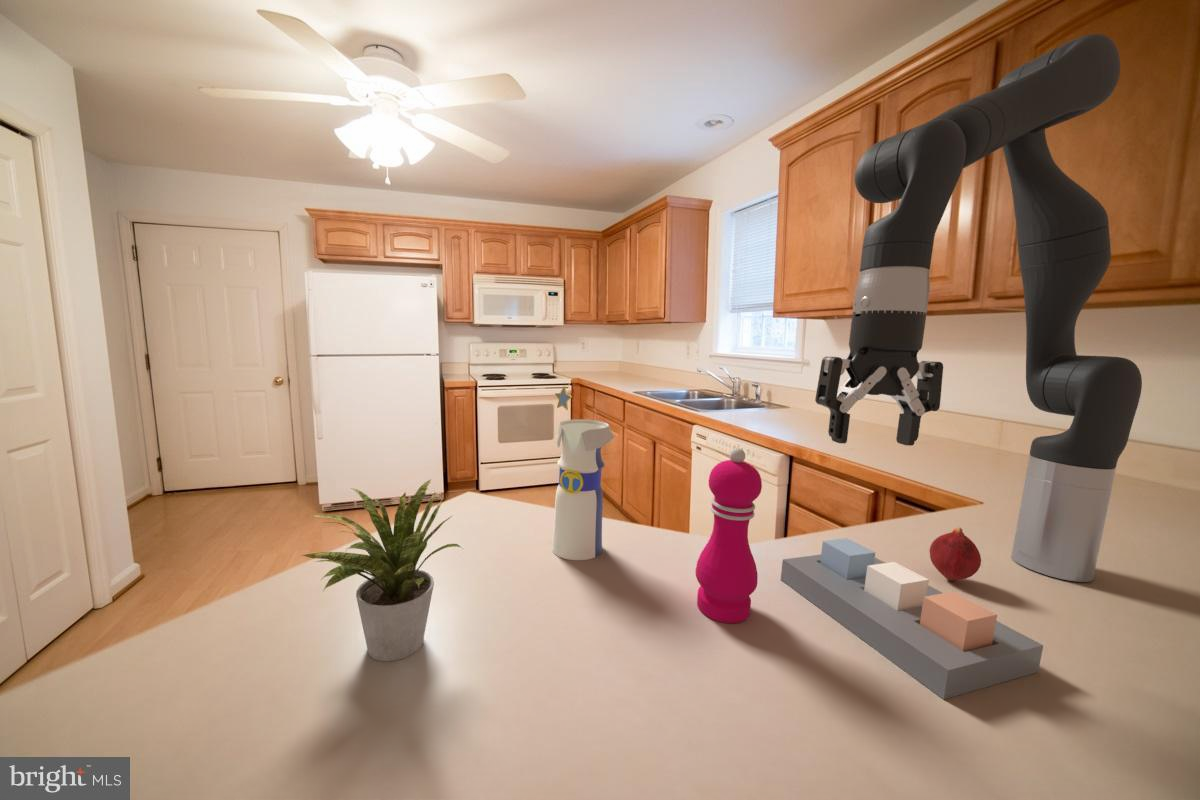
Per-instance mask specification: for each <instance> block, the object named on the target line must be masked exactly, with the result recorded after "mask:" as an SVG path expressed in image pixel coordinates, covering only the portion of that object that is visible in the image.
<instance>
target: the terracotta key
mask: <svg viewBox="0 0 1200 800" xmlns="http://www.w3.org/2000/svg"><path fill="white" fill-rule="evenodd" d="M997 617H998V614H997V613H995V612H993V611H991V610H989V609H987V608H986V607H983V606H981V605H979V604H978V603H975V602H974V601H972V600H970V599H968V598H965V597H963V595H960V594H957V593H956V592H955V591H948V592H942V594H936V595H931V596H925V597H924V599H923V606H922V612H921V619H920V625H921V626H923V627H924V628H926V629H928V630H929V631H931V632H933V633H934V634H936V635H938V636H939V637H941V638H942V639H944V640H946V641H947V642H949V643H951V644H952V645H954V646H955V647H957V648H959V649H960V650H962V651H964V652H967V651H971V650H975V649H979V648H984V647H988V646H992V642H993V636H994V630H995V625H996V621H997Z"/></svg>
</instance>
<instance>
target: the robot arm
mask: <svg viewBox="0 0 1200 800" xmlns="http://www.w3.org/2000/svg"><path fill="white" fill-rule="evenodd" d="M1120 75H1121V58H1120V54H1119V50H1118V48H1117V45H1116V43H1114V41H1113V40H1112V38H1110V37H1109V36H1107V35H1104V34H1101V33H1088V34H1086V35H1082V36H1079V37H1076V38H1074V39H1071V40H1069V41H1067V42H1065V43H1062V44H1061V45H1059V46H1056V47H1055V48H1053V49H1052V50H1050V51H1047V52H1045V53H1043V54H1042V55H1039V56H1038V57H1036V58H1034V59H1031V60H1030V61H1028V62H1026V63H1024V64H1022V65H1020V66H1018V67H1016V68H1014V69H1013V70H1011V71H1010V72H1008V73H1007V74H1005V75H1004V77H1002V79H1001V81H1000V82H999V84H998V86H997V88H994V89H991V90H989V91H986V92H984V93H982V94H979V95H977V96H975V97H972V98H969V99H968V100H966V101H963V102H962V103H959V104H957V105H956V106H954V107H951V108H949V109H948V110H946V111H943V112H942V113H940V114H939V115H937V116H936V117H933V118H932V119H930V120H928V121H926V122H925V123H922V124H920V125H917V126H914V127H913V128H912V127H911V128H910V129H907V130H905V131H902V132H900V133H897V134H895V135H892V136H890V137H887V138H885V139H883V140H880V141H878V142H875V143H874V144H873V145H872V146H870V147H869V148H868V149H867V150H866V151H865V152H864V153H863V154H862V156H861V158H860V159H859V161H858V162H857V165H856V168H855V172H854V185H855V188H856V191H857V193H858V194H859V195H860V196H861V198H863V199H864V200H865V201H868V202H870V203H873V204H887V203H892V202H894V201H899V202H898V204H897V206H896V207H895V208H894V210H892V211H891V212H890V213H888V214H887V215H885V216H884V217H881V218H879V219H877V220H876V221H874V222H872V223H871V224H870V225H869V226H868V227H867V229H866V230H865V233H864V236H863V237H864V238H863V241H862V251H861V257H860V266H859V273H858V278H857V281H856V286H855V290H854V298H853V305H852V312H851V313H852V314H851V323H850V330H849V331H850V332H849V337H848V338H849V340H848V346H849V354H848V356H847V357H846V358H842V357H839V356H832V355H831V356H824V357H822V359H821V364H820V368H819V369H820V370H819V376H818V381H817V387H816V393H815V403H816V404H817V405H820V406H823V407H824V408H827V409H828V410H829V411H830V416H829V423H828V436H829V437H831V438H830V439H831V441H832V442H834V443H836V444H843V445H844V444H847V442H848V434H849V426H850V419H851V414H850V413H848V412H850V410H851V409H852V408H853V406H854V405H855V404H856V403H857V402H858V401H860V400H862V399H864V398H865V397H866V395H871V396H878V395H880V396H881V395H884V396H889V397H891V398H892V400H894V401H896V404H897V405H898V407H899V408H900V410H901V413H899V417H898V425H897V430H896V431H897V432H896V442H897V443H898V444H901V445H903V446H908V447H909V446H912V447H913V446H914V445H915V443H916V442H917V440H918V438H919V434H920V433H919V432H920V426H921V420H922V416H924V414H926V413H929V412H937V411H938V410H939V409H940V407H941V397H942V388H943V387H942V385H943V375H944V374H943V373H944V364H943V363H942V362H941V361H931V360H930V361H929V360H921V361H920V362H919V361H918V356H917V355H918V353H919V351H920V350H922V348H923V342H924V335H925V328H926V322H927V313H928V306H929V298H930V292H931V283H930V272H931V271H930V270H931V264H932V255H933V251H934V249H933V247H934V243H935V236H936V233H937V230H938V227H939V225H940V222H941V221H942V218H943V216H944V214H945V211H946V209H947V206H948V203H949V202H950V199H951V197H952V194H953V192H954V191H955V188H956V187H957V183H958V181H959V179H960V178H961V174H962V172H963V170H964V169H965V168H967V167H969V166H970V165H973V164H974V163H977V162H978V161H980V160H982V159H983V158H985V157H987V156H989V155H990V154H992V153H994V152H996V151H997V150H999V149H1001V148H1002V151H1003V155H1004V159H1005V163H1006V168H1007V172H1008V173H1007V174H1008V177H1009V180H1010V187H1011V193H1012V199H1013V201H1012V202H1013V209H1014V218H1015V226H1016V227H1015V231H1016V246H1017V254H1018V263H1019V269H1020V275H1021V281H1022V288H1023V299H1024V300H1023V301H1024V313H1025V325H1026V326H1025V327H1026V333H1025V334H1026V336H1025V337H1026V341H1025V342H1026V345H1025V346H1026V347H1025V350H1026V352H1025V384H1026V391H1027V395H1028V398H1029V400H1030V402H1031V403H1032V404H1033V406H1034V407H1036V408H1037V409H1038V410H1040V411H1042V412H1046V413H1049V414H1056V415H1062V416H1070V417H1073V419H1072V422H1071V424H1070V427H1069V428H1067V430H1065V431H1063V432H1060V433H1057V434H1052V435H1043V436H1041V435H1040V436H1037V437H1034V439H1033V440H1032V441H1031V445H1030V450H1029V455H1028V461H1027V467H1026V470H1025V471H1026V472H1025V478H1024V483H1023V490H1022V494H1021V495H1022V496H1021V501H1020V506H1019V507H1020V508H1019V512H1018V517H1017V523H1016V529H1015V534H1014V541H1013V545H1012V550H1011V554H1010V555H1011V559H1012V560H1013V561H1014V562H1015V563H1017V564H1018V565H1021V566H1023V567H1025V568H1027V569H1029V570H1031V571H1034V572H1036V573H1039V574H1042V575H1045V576H1049V577H1052V578H1056V579H1060V580H1065V581H1070V582H1077V583H1089V582H1092V581H1093V580H1094V577H1095V576H1094V575H1095V572H1096V568H1097V562H1098V557H1099V553H1100V547H1101V543H1102V538H1103V533H1104V528H1105V525H1106V519H1107V515H1108V509H1109V504H1110V499H1111V494H1112V491H1113V490H1112V488H1113V484H1114V478H1115V474H1116V469H1117V465H1118V461H1119V458H1120V456H1121V455H1122V453H1123V452H1124V450H1125V448H1127V447H1126V446H1127V444H1128V442H1129V437H1130V433H1131V430H1132V426H1133V422H1134V420H1135V416H1136V413H1137V409H1138V405H1139V403H1140V399H1141V395H1142V388H1143V387H1142V386H1143V381H1142V380H1143V379H1142V378H1143V377H1142V374H1141V371H1140V368H1139V367H1138V365H1137V364H1136V363H1135V362H1134V361H1133V360H1130V359H1128V358H1125V357H1121V356H1120V357H1119V356H1108V355H1081V354H1077V351H1076V344H1075V340H1076V339H1075V335H1076V334H1075V331H1076V325H1077V320H1078V317H1079V315H1080V313H1081V311H1082V309H1083V308H1084V306H1085V305H1086V303H1087V301H1088V300H1089V299H1090V298H1091V297H1092V295H1093V293H1094V291H1095V290H1096V289H1097V287H1098V286H1099V284H1100V283H1101V282H1102V280H1103V278H1104V276H1105V274H1106V272H1107V271H1108V268H1109V266H1110V262H1111V259H1112V258H1111V257H1112V248H1111V236H1110V235H1111V234H1110V227H1109V226H1110V225H1109V216H1108V213H1107V211H1106V209H1105V207H1104V206H1103V205H1102V203H1100V201H1099V200H1098V199H1097V198H1096V197H1094V196H1093V195H1092V194H1091V193H1090V192H1088V190H1086V189H1085V188H1084V187H1082V186H1080V184H1078V183H1077V182H1076V181H1074V180H1073V179H1072V178H1071V177H1069V176H1068V175H1067V174H1066V173H1065V172H1064V171H1063V170H1062V169H1061V168H1060V167H1059V166H1058V165H1057V163H1056V161H1055V160H1054V158H1053V156H1052V154H1051V151H1050V148H1049V146H1048V142H1047V138H1046V130H1047V129H1049V128H1051V127H1053V126H1057V125H1059V124H1062V123H1065V122H1066V121H1069V120H1071V119H1075V118H1077V117H1080V116H1082V115H1084V114H1087V113H1088V112H1090V111H1091V110H1094V109H1096V108H1097V107H1098V106H1100V105H1103V103H1104V102H1105V101H1106V100H1107V99H1108V98H1109V97H1110V96H1111V95H1112V94H1113V92H1114V91H1115V88H1116V87H1117V86H1118V82H1119V79H1120ZM845 371H846V372H847V374H848V376H849V377H848V378H847V379H846V380H845V381H844V382H843V384H842V385H841V386H840V381H841V380H840V379H841V376H842V375H844V373H845ZM915 376H916V380H917V381H916V386H915V384H914V383H913V380H912V379H913V378H914V377H915ZM839 386H840V387H839Z"/></svg>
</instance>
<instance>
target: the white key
mask: <svg viewBox="0 0 1200 800" xmlns="http://www.w3.org/2000/svg"><path fill="white" fill-rule="evenodd" d="M928 585H929V579H928V578H926V577H925V576H922V575H921V574H919V573H917V572H915V571H913V570H911V569H908V568H907V567H905V566H903V565H901V564H899V563H897V562H895V561H891V562H885V563H883V564H876V565H869V566H867V572H866V580H865V587H864V591H866V592H867V593H869V594H871V595H872V596H874V597H876V598H877V599H879V600H881V601H882V602H884V603H885V604H887V605H889V606H890V607H892V608H894V609H895V610H897V611H903V610H908V609H914V608H919V607H922V606H923V599H924V597H925V596H926V595H927V588H928Z"/></svg>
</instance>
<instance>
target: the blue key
mask: <svg viewBox="0 0 1200 800" xmlns="http://www.w3.org/2000/svg"><path fill="white" fill-rule="evenodd" d="M821 546H822V547H821V552H820V555H821V560H820V564H822V565H823V566H825V567H827V568H828V569H830V570H832V571H833V572H835V573H837V574H838V575H840V576H841V577H843V578H845V579H846V580H850V579H856V578H863V577H866V572H867V566H869V565H874V560H875V558H876V552H875V551H874V550H871V549H869V548H868V547H866V546H863V545H861V544H859V543H858V542H856V541H853V540H852V539H850V538H848V537H847V538H838V539H837V538H836V539H830V540H822V545H821Z"/></svg>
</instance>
